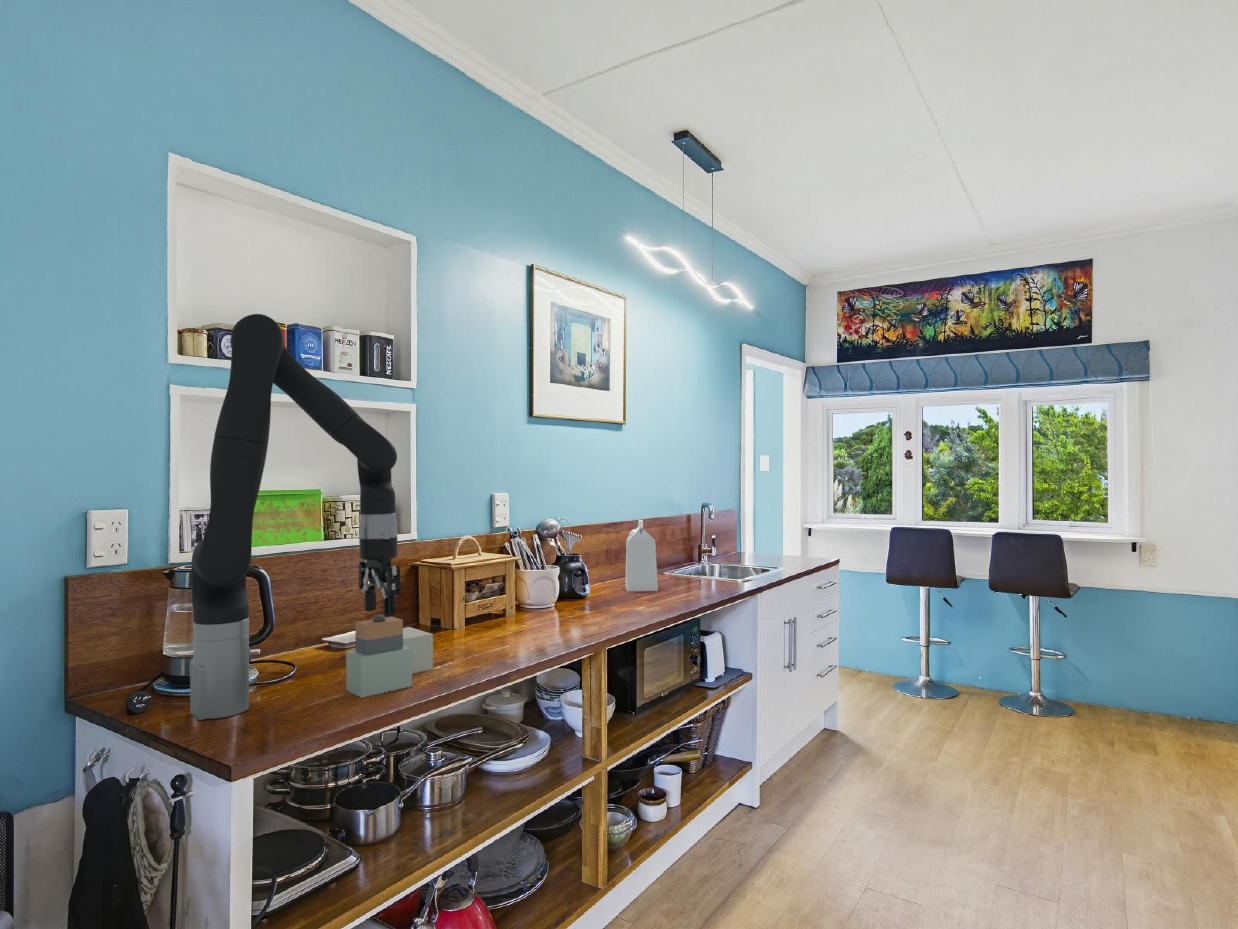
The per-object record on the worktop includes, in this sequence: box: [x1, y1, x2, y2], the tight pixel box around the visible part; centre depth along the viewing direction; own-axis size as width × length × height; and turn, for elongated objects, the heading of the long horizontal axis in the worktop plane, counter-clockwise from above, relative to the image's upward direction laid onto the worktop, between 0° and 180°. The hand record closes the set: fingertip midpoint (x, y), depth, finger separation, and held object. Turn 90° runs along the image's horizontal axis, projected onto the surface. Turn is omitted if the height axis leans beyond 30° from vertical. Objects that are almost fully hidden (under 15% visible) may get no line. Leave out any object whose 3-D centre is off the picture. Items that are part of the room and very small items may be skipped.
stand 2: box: [403, 626, 434, 675], centre depth 170 cm, size 7×11×8 cm, turn 44°
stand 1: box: [345, 645, 413, 699], centre depth 154 cm, size 11×7×8 cm, turn 134°
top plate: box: [354, 614, 404, 640], centre depth 154 cm, size 8×5×4 cm, turn 134°
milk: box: [624, 519, 659, 592], centre depth 283 cm, size 12×12×26 cm
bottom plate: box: [354, 634, 403, 655], centre depth 154 cm, size 8×5×3 cm, turn 134°
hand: (379, 613), depth 154 cm, fingers open, 8 cm apart
